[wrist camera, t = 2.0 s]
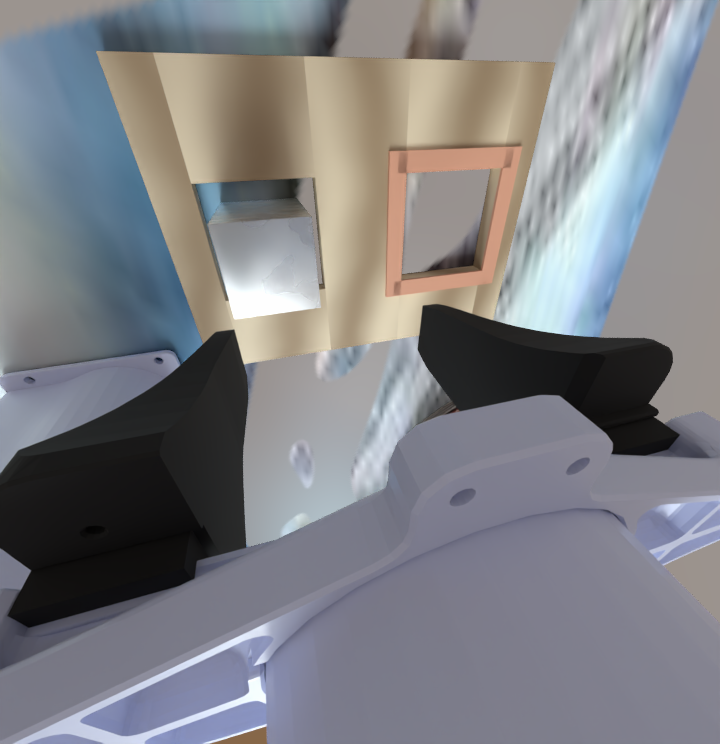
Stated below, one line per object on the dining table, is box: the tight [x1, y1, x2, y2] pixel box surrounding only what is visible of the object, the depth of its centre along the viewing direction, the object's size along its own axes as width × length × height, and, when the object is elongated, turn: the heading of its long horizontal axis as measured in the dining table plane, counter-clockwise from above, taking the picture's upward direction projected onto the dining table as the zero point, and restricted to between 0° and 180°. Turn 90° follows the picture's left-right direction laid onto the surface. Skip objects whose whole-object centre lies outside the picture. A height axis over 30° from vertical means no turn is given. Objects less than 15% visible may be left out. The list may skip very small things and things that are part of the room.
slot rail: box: [96, 51, 555, 364], centre depth 19 cm, size 21×15×1 cm
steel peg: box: [208, 198, 321, 319], centre depth 16 cm, size 4×4×6 cm
